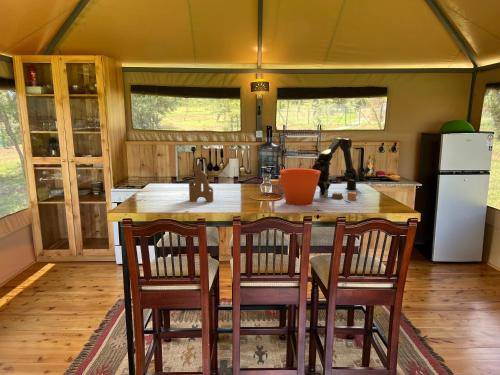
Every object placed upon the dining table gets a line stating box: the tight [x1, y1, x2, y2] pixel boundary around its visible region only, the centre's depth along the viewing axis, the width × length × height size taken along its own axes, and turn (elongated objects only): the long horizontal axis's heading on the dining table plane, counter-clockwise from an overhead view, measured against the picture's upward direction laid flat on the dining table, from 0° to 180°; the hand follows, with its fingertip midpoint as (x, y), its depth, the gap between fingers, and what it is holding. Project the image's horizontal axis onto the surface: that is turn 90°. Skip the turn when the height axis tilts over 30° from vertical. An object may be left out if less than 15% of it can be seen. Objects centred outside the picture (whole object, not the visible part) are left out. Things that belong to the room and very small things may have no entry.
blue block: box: [319, 188, 329, 198], centre depth 237 cm, size 4×4×4 cm
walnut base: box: [330, 191, 344, 200], centre depth 231 cm, size 6×6×3 cm
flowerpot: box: [279, 167, 321, 207], centre depth 216 cm, size 25×25×20 cm
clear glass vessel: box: [270, 175, 284, 195], centre depth 246 cm, size 21×6×12 cm, turn 87°
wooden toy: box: [188, 161, 214, 203], centre depth 219 cm, size 15×7×25 cm, turn 88°
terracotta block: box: [347, 191, 357, 201], centre depth 227 cm, size 4×4×4 cm
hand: (323, 194), depth 237 cm, fingers closed on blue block, 4 cm apart
